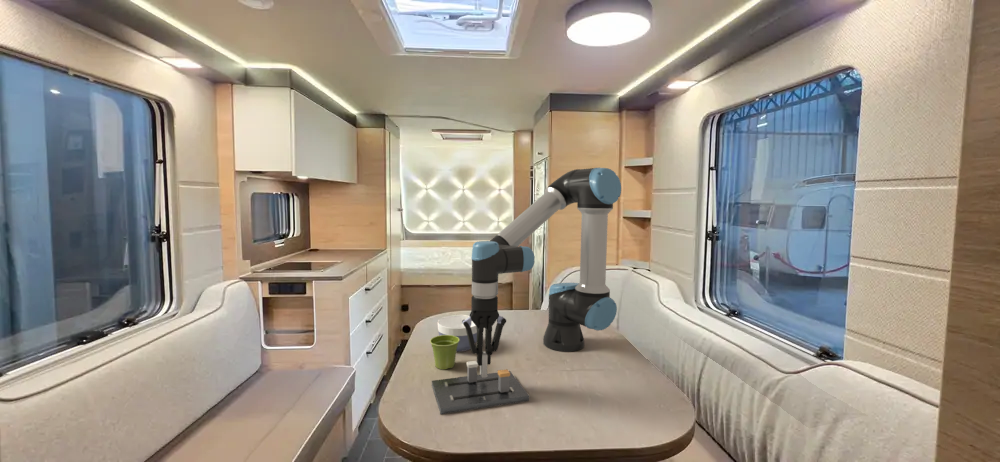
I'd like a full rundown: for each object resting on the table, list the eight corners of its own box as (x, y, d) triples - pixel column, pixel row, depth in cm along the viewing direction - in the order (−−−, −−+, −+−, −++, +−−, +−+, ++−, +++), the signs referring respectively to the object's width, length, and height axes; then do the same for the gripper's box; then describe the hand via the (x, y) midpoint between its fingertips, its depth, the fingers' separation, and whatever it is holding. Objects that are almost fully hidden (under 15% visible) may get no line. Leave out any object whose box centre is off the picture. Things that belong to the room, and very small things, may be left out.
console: (509, 375, 124) (509, 369, 124) (529, 400, 109) (529, 394, 109) (431, 385, 117) (431, 379, 116) (440, 414, 101) (440, 407, 101)
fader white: (475, 378, 118) (475, 360, 117) (477, 381, 115) (478, 364, 115) (466, 379, 117) (466, 361, 116) (468, 383, 114) (468, 365, 114)
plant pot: (454, 373, 125) (454, 346, 124) (425, 370, 127) (425, 343, 126) (462, 361, 134) (463, 336, 133) (436, 358, 136) (436, 333, 135)
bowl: (489, 344, 149) (490, 319, 149) (463, 359, 136) (463, 331, 135) (456, 336, 158) (456, 312, 157) (428, 348, 145) (428, 322, 144)
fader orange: (506, 387, 112) (507, 369, 112) (509, 391, 110) (510, 372, 109) (497, 388, 111) (497, 370, 111) (500, 393, 109) (500, 374, 108)
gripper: (502, 291, 120) (500, 367, 122) (459, 293, 116) (458, 372, 118) (510, 297, 113) (508, 378, 115) (465, 300, 109) (464, 383, 111)
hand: (483, 375), depth 117 cm, fingers closed
